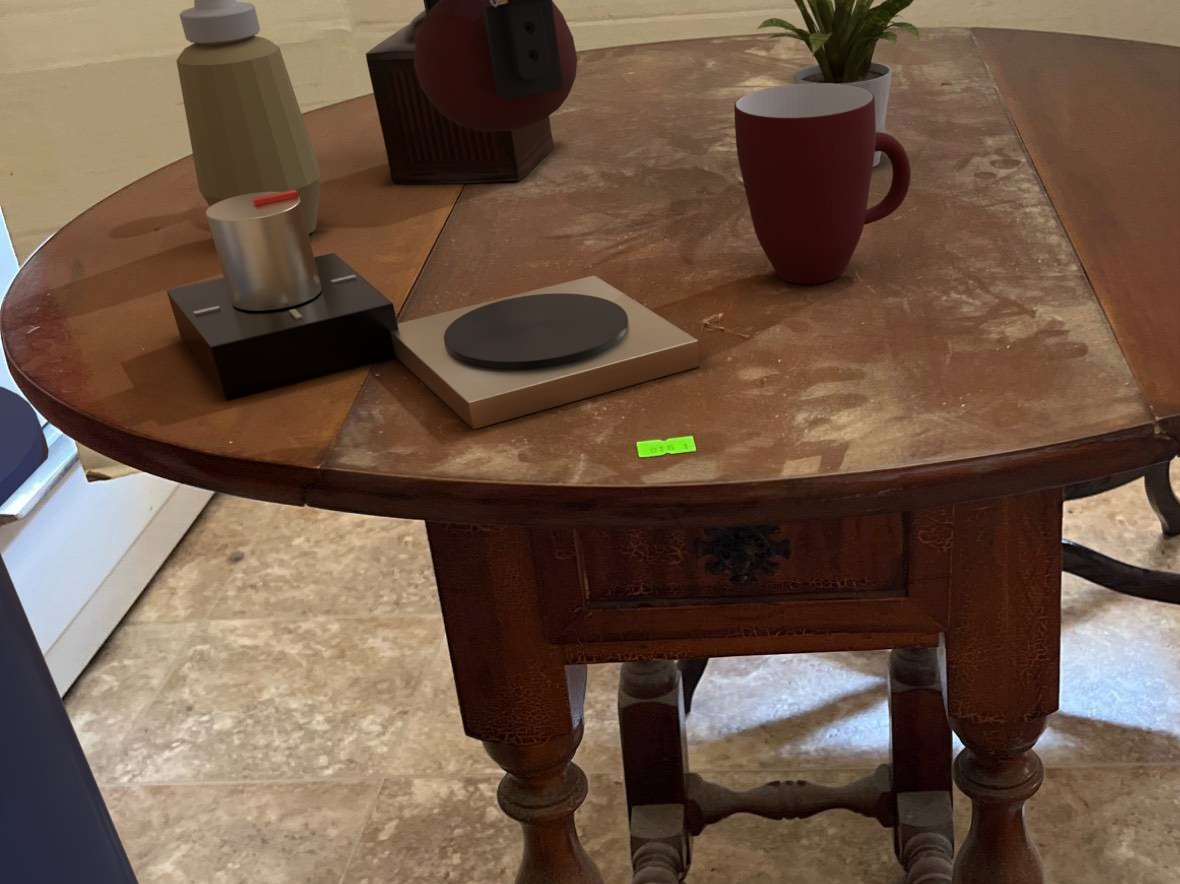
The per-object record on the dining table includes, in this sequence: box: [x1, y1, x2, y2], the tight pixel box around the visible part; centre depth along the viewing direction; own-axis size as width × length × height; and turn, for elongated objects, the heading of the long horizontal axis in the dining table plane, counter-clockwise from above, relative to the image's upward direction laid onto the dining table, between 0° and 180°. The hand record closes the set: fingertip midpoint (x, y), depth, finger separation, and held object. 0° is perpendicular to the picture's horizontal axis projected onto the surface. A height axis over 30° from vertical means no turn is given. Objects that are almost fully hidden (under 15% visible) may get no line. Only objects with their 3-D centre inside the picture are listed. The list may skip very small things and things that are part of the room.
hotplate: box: [391, 275, 701, 430], centre depth 80 cm, size 13×13×2 cm
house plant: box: [756, 0, 921, 168], centre depth 103 cm, size 14×14×16 cm
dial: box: [205, 190, 321, 311], centre depth 81 cm, size 5×5×5 cm
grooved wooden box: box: [365, 9, 555, 185], centre depth 109 cm, size 16×11×18 cm
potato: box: [414, 0, 578, 132], centre depth 72 cm, size 7×8×7 cm
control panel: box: [166, 252, 399, 401], centre depth 84 cm, size 10×11×3 cm
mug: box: [733, 83, 911, 285], centre depth 87 cm, size 11×8×10 cm
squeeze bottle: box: [176, 0, 322, 235], centre depth 97 cm, size 8×8×18 cm
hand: (497, 76), depth 72 cm, fingers closed on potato, 7 cm apart
